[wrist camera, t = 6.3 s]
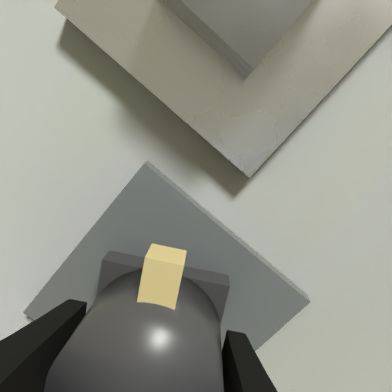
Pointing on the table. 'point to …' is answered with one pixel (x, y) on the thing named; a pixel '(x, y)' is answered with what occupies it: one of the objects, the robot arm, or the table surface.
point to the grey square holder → (235, 59)
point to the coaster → (195, 257)
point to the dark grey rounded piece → (147, 329)
